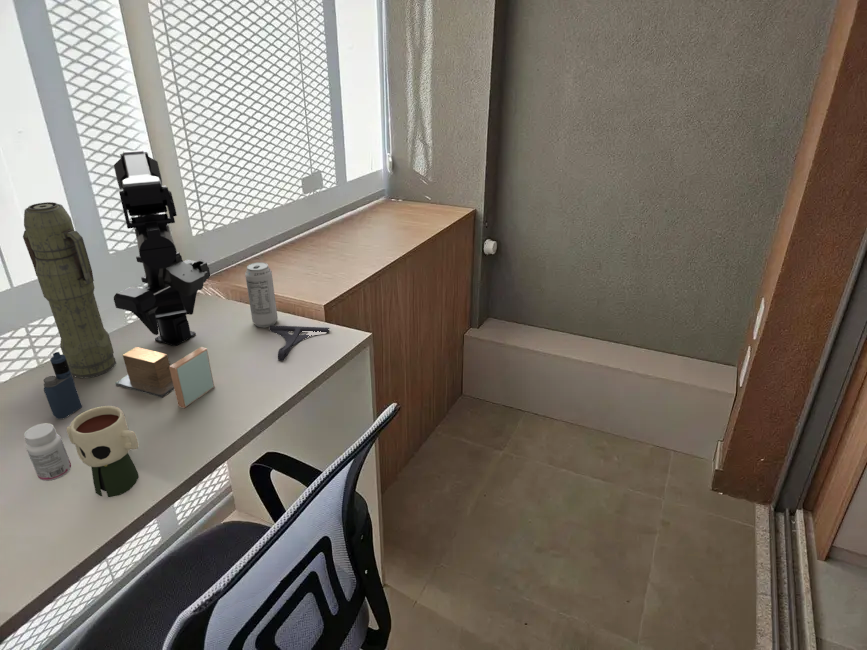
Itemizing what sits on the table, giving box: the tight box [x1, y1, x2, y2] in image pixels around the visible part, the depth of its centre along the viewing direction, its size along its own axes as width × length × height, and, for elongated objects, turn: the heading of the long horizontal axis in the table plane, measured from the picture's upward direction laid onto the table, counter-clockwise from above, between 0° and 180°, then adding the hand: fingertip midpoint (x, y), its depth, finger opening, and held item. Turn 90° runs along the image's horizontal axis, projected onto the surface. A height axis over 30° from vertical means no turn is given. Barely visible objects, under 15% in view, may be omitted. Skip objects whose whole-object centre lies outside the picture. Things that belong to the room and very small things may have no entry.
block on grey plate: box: [114, 346, 175, 398], centre depth 115 cm, size 12×7×7 cm, turn 69°
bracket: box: [268, 324, 331, 361], centre depth 130 cm, size 14×15×3 cm
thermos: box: [22, 201, 117, 379], centre depth 113 cm, size 9×12×35 cm
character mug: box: [66, 405, 140, 498], centre depth 87 cm, size 11×7×13 cm, turn 83°
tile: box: [169, 346, 215, 409], centre depth 110 cm, size 2×8×9 cm, turn 156°
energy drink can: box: [244, 261, 279, 328], centre depth 136 cm, size 6×6×15 cm
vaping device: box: [43, 351, 83, 420], centre depth 104 cm, size 3×5×12 cm, turn 161°
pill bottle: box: [23, 422, 72, 482], centre depth 91 cm, size 5×5×8 cm
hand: (173, 323), depth 112 cm, fingers open, 9 cm apart
